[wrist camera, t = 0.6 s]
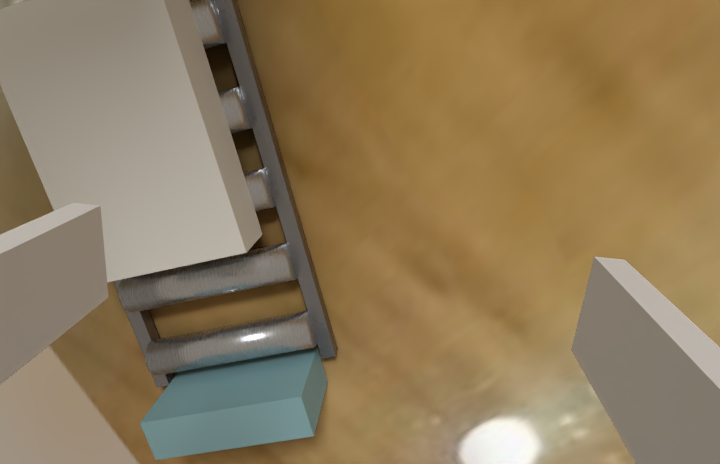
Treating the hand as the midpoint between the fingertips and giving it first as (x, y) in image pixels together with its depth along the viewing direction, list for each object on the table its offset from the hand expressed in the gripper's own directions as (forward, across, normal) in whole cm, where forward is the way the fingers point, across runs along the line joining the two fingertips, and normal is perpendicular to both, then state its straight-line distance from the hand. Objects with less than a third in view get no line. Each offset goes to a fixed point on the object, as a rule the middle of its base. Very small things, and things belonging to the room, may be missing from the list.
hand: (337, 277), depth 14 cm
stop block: (+25, -9, -22) cm, 35 cm away
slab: (+23, -17, -1) cm, 28 cm away
